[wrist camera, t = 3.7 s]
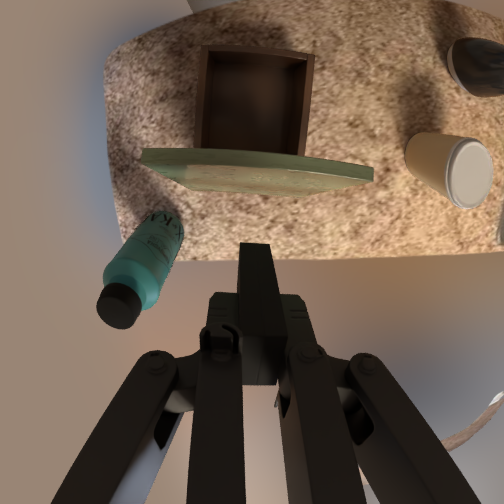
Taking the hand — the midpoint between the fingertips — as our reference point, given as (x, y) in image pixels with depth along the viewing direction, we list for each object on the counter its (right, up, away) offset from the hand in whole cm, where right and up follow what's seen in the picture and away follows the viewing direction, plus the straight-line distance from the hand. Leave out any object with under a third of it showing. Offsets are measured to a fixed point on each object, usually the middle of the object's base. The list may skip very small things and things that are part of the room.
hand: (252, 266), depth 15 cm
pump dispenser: (+34, +31, +13) cm, 48 cm away
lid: (0, +7, +6) cm, 9 cm away
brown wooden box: (0, +18, +18) cm, 25 cm away
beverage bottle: (-13, +5, +25) cm, 28 cm away
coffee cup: (+27, +16, +20) cm, 37 cm away
